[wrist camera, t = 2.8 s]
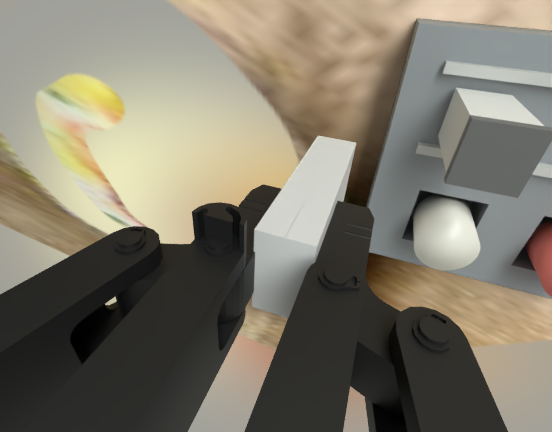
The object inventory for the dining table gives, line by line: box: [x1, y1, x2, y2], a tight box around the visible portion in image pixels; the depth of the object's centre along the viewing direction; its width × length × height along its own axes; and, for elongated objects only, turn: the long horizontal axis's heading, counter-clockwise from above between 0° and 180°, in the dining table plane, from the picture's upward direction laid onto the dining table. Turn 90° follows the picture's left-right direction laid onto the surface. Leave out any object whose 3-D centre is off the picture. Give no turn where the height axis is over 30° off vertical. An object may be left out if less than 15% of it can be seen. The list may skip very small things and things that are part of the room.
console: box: [366, 18, 552, 299], centre depth 23 cm, size 19×17×6 cm
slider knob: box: [438, 88, 552, 198], centre depth 17 cm, size 3×3×7 cm
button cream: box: [413, 194, 480, 270], centre depth 23 cm, size 4×4×4 cm
